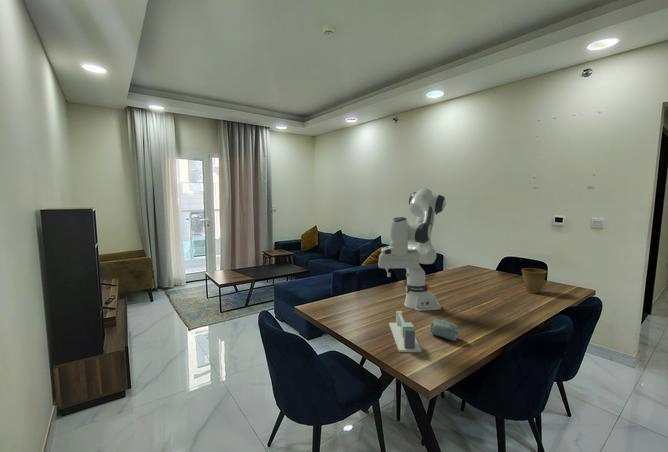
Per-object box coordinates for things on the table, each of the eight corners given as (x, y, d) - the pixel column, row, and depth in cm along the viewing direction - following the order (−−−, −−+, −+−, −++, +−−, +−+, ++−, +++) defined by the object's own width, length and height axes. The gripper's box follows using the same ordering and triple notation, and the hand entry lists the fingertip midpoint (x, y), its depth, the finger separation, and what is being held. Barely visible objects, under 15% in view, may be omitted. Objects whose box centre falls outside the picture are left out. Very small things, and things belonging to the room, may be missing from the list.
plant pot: (544, 291, 228) (546, 269, 226) (545, 296, 215) (546, 273, 213) (520, 287, 235) (522, 266, 234) (520, 293, 223) (521, 271, 221)
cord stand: (407, 324, 171) (407, 307, 170) (421, 352, 141) (421, 331, 140) (389, 324, 171) (389, 307, 170) (399, 352, 142) (399, 331, 141)
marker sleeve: (411, 333, 151) (411, 322, 150) (413, 337, 146) (413, 326, 145) (400, 333, 151) (400, 322, 150) (402, 337, 146) (402, 326, 145)
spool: (424, 329, 157) (433, 312, 157) (432, 332, 164) (441, 315, 164) (447, 345, 147) (457, 327, 147) (455, 348, 153) (465, 330, 154)
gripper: (418, 248, 161) (417, 275, 162) (378, 248, 161) (377, 275, 163) (421, 250, 155) (420, 278, 156) (379, 250, 155) (379, 278, 156)
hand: (398, 276), depth 159 cm, fingers open, 8 cm apart
